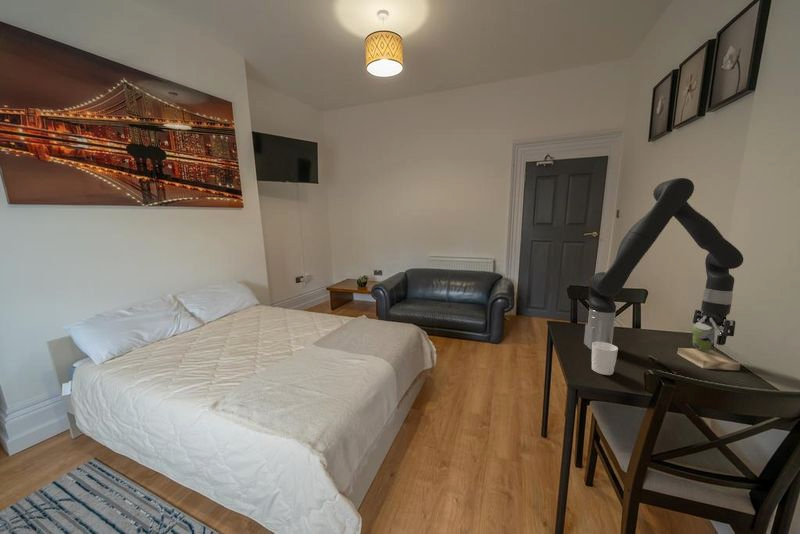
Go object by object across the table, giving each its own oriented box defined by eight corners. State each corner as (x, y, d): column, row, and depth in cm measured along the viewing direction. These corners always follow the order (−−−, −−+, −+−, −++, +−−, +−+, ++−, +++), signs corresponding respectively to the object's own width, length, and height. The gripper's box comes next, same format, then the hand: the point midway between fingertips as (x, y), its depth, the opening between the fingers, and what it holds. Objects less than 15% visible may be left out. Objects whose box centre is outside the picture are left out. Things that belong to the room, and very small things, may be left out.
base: (702, 368, 108) (704, 360, 107) (677, 354, 119) (678, 347, 119) (739, 370, 106) (740, 363, 106) (709, 355, 118) (710, 349, 117)
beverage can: (717, 351, 113) (725, 328, 108) (696, 353, 115) (703, 331, 110) (704, 340, 119) (710, 318, 114) (684, 342, 120) (689, 321, 115)
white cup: (595, 363, 112) (597, 339, 110) (618, 372, 105) (621, 347, 104) (585, 369, 108) (588, 344, 106) (609, 378, 101) (612, 352, 100)
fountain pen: (679, 376, 103) (680, 372, 103) (676, 375, 103) (676, 372, 103) (648, 357, 117) (648, 354, 117) (645, 357, 117) (645, 354, 117)
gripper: (689, 295, 116) (684, 332, 119) (723, 305, 102) (716, 347, 105) (710, 296, 115) (704, 333, 118) (747, 306, 101) (739, 348, 104)
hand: (709, 340), depth 111 cm, fingers open, 8 cm apart
